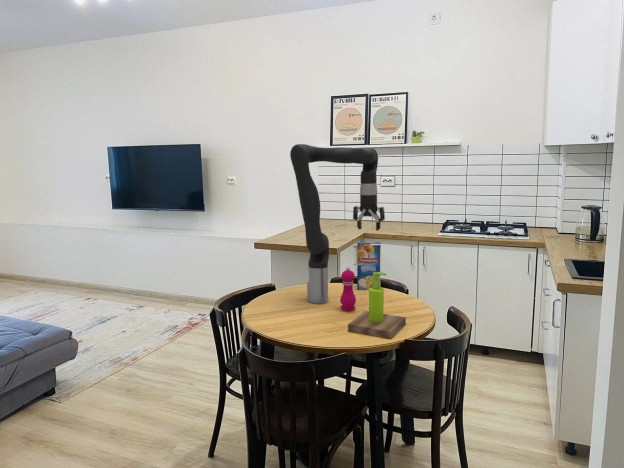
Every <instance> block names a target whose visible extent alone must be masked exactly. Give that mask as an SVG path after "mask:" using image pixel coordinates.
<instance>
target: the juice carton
mask: <svg viewBox="0 0 624 468" xmlns="http://www.w3.org/2000/svg"><path fill="white" fill-rule="evenodd" d="M356 244H357V245H356V250H357V255H356V256H357V257H356V261H357V262H356V265H357V267H356V274H357V275H356V276H357V277H356V278H357V279H356V282H357V284H356V290H357V291H369V288H372V280H374V275H373V272H381V246H382V245H381V242H377V241H375V242H374V241H371V242H370V241H364V242H363V241H358V242H357V243H356ZM379 280H380V281H381V275H379Z"/></svg>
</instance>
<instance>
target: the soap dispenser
mask: <svg viewBox="0 0 624 468" xmlns="http://www.w3.org/2000/svg"><path fill="white" fill-rule="evenodd" d="M373 275H374V280H372V288H369V290H368V311H369V321H370V322H374V323H379V322H382V321H383V314H384V299H385V297H384V295H385V294H384V293H385V292H384V290H385V289H384V288H382V286H381V283H382V282H381V279H380V280H379V275H380V276H387V272H382V271H380V272H373Z"/></svg>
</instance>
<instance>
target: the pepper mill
mask: <svg viewBox="0 0 624 468" xmlns="http://www.w3.org/2000/svg"><path fill="white" fill-rule="evenodd" d="M341 280H342V285H343V290H342V293H341V295H340V300H339V303H340V304H341V305H340V307H341V308H340V310H341V311H342V312H346V313H349V312H350V313H351V312H354V311H355V310H356V306H355V305H356V302H357V298H356V295H355V293H354V289H353V287H354V286H353V285H354V280H355V273H354V271H353V270H351V267H349V266H347V267H346V268H345V270H344V271H342V273H341Z"/></svg>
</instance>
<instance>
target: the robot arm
mask: <svg viewBox="0 0 624 468" xmlns="http://www.w3.org/2000/svg"><path fill="white" fill-rule="evenodd" d="M289 157H290V161H291V165H292V168H293V172H294V176H295V180H296V187H297V192H298V200H299V204H300V209H301V213H302V218H303V219H302V220H303V223H304V229H305V242H306V247H307V250H308V251H309V252H310V253H309V260H308V281H307V282H306V302H308V303H311V304H315V305H317V304H318V305H320V304H321V305H323V304H326V303H329V276H328V275H329V272H328V271H329V267H328V266H329V260H330V257H329V256H330V241H329V238H328V236H327V235H326V234H325V233H324V232H323V231H322V229H321V223H320V221H321V201H320V200H321V199H320V196H319V195H320V194H319V190H318V187H317V185H316V184H315V182H314V179H313V177H312V175H311V171H310V165H309V164H310V163H318V162H325V163H326V162H328V163H335V164H359V165H362V169H361V172H360V186H359V192H360V193H359V203H360V205H359V206H358V205H355V206H353V209H352V210H353V211H352V214H353V215H352V220H355V221H356V227H357V229H358V230H362V227H363V226H362V219H363V218H364V217H368V218H369V217H371V218H372V219H374V220H375V221H376V222H375V231H376V232H377V231H379V230H380V229H381V222H382V221H385V220H386V214H385V207H384V206H381V207H380V206H378V185H377V179H378V178H377V171H378V164H379V154H378V151H377V149H374V148H373V147H357V148H356V147H354V148H353V147H341V146H340V147H339V146H338V147H319V146H313V145H309V144H306V143H305V144H304V143H303V144H301V143H299V144H295V145H293V146H292V148H291V149H290V153H289ZM359 211H360V214H359ZM377 212H378V213H379V214H378V213H377Z"/></svg>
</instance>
